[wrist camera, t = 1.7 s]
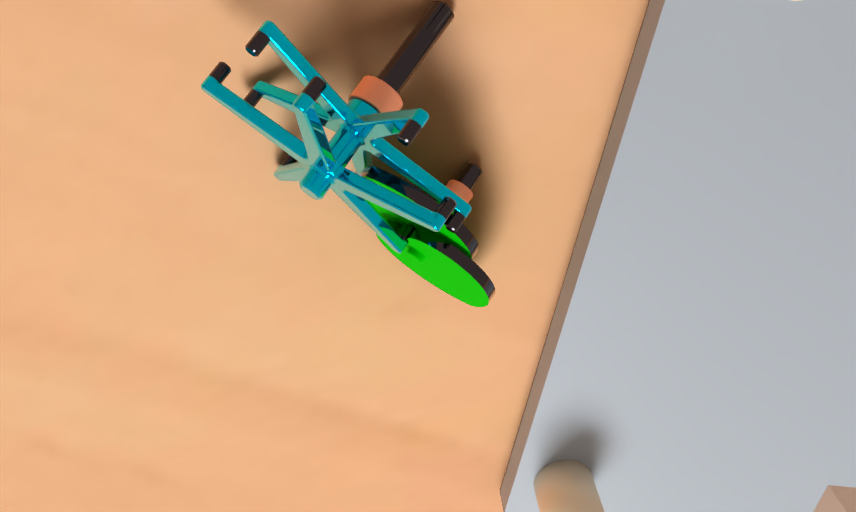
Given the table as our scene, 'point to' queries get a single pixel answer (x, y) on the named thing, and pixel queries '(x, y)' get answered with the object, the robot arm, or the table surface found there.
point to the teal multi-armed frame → (360, 138)
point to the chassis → (709, 277)
